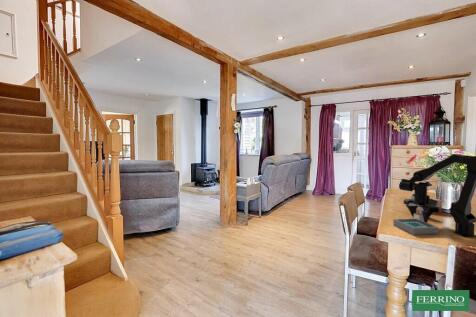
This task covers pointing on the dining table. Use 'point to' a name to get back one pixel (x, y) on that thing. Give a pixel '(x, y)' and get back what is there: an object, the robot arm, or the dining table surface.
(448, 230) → the dining table surface
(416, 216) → the cube with square boss
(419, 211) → the skincare box
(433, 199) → the medicine box
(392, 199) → the dining table surface
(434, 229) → the box
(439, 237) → the dining table surface
